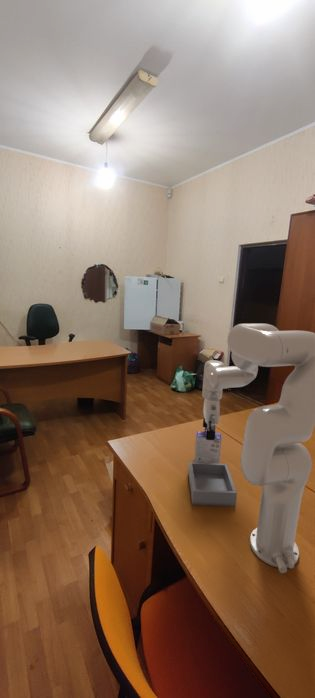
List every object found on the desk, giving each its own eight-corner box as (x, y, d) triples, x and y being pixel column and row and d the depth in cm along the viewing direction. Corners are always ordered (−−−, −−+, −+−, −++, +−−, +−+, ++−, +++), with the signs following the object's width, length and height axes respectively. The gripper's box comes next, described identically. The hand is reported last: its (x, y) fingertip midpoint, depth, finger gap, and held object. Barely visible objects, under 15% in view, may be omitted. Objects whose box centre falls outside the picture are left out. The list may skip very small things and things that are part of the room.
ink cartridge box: (219, 460, 123) (222, 427, 119) (219, 468, 117) (222, 434, 114) (194, 456, 124) (197, 424, 121) (193, 464, 119) (196, 431, 116)
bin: (235, 506, 97) (236, 493, 96) (192, 504, 98) (193, 491, 96) (225, 475, 113) (226, 463, 112) (188, 473, 113) (189, 462, 112)
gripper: (226, 402, 106) (221, 445, 110) (218, 385, 123) (214, 423, 127) (205, 401, 106) (201, 444, 110) (199, 384, 123) (196, 422, 127)
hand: (208, 433), depth 119 cm, fingers open, 9 cm apart
